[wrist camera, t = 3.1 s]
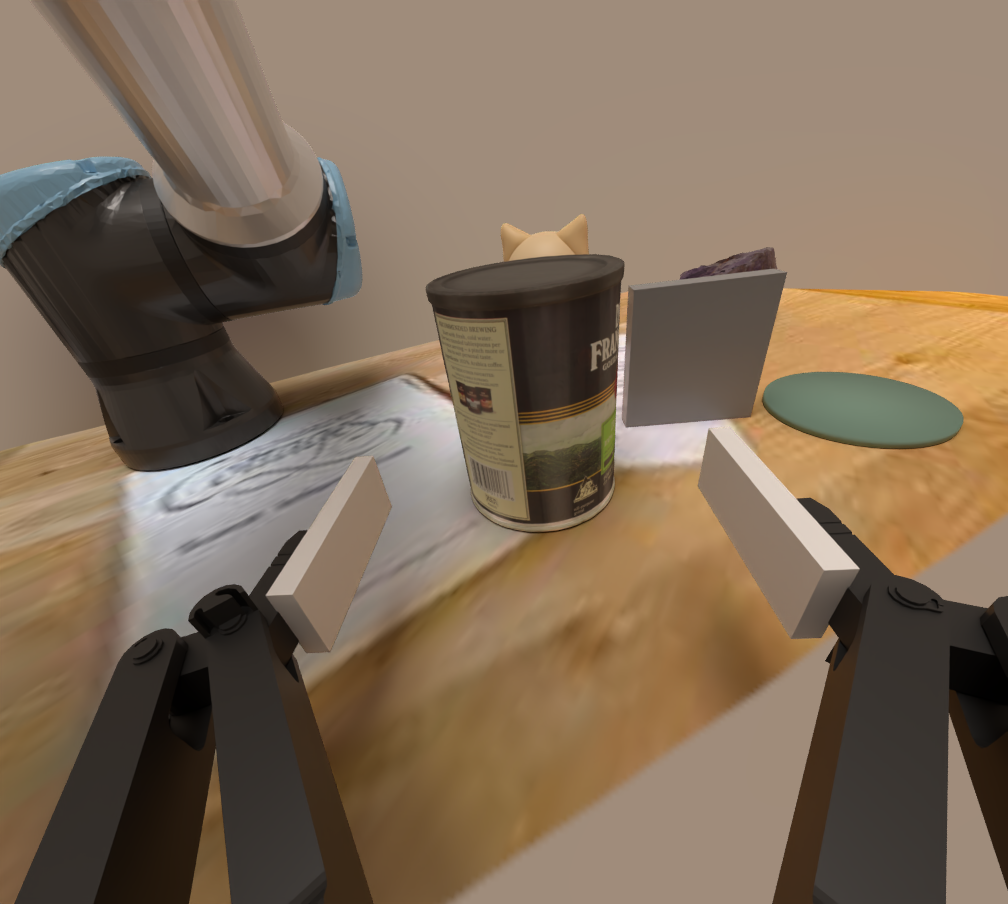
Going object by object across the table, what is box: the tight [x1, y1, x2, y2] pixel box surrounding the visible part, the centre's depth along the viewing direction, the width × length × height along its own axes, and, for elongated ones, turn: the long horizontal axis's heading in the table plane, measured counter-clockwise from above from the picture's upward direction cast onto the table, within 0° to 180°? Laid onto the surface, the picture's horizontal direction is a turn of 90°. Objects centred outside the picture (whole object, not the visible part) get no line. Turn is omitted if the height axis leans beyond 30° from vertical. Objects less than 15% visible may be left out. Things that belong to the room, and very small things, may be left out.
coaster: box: [763, 372, 963, 449], centre depth 31 cm, size 12×12×1 cm
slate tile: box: [622, 269, 787, 427], centre depth 30 cm, size 2×10×11 cm, turn 90°
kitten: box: [501, 214, 589, 262], centre depth 49 cm, size 15×10×15 cm, turn 67°
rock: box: [680, 247, 777, 280], centre depth 50 cm, size 12×9×10 cm
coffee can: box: [426, 254, 624, 532], centre depth 24 cm, size 10×10×14 cm
